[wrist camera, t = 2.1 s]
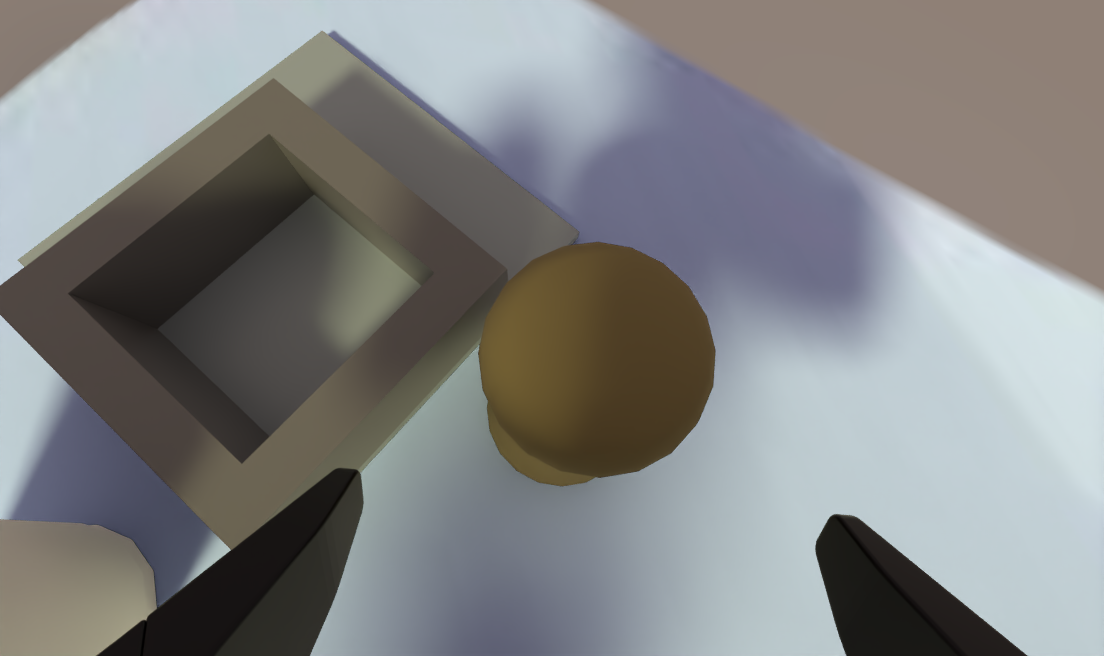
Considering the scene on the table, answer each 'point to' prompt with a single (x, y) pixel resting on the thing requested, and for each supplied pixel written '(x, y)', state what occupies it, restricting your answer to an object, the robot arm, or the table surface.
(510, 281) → the cork
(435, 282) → the socket
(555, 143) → the table surface
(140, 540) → the table surface
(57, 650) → the foam cup
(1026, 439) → the table surface
